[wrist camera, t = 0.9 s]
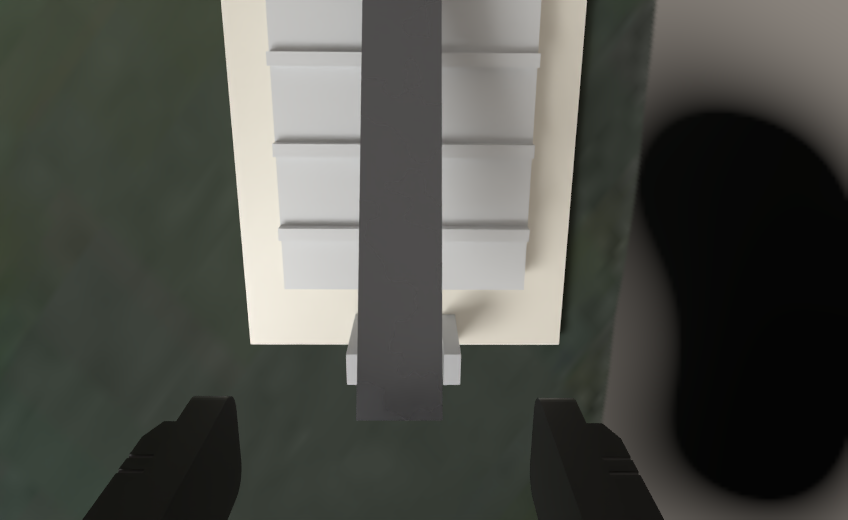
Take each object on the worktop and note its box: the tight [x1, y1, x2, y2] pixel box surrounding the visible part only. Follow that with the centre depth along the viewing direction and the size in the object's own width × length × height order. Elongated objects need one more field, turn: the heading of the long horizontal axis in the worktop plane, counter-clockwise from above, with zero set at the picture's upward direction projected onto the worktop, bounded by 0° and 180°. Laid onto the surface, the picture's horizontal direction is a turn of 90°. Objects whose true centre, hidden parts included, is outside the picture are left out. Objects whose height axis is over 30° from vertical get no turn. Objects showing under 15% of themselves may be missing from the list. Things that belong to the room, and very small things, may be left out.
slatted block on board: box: [221, 0, 587, 385], centre depth 29 cm, size 22×17×6 cm
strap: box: [356, 0, 442, 420], centre depth 24 cm, size 21×3×1 cm, turn 1°
